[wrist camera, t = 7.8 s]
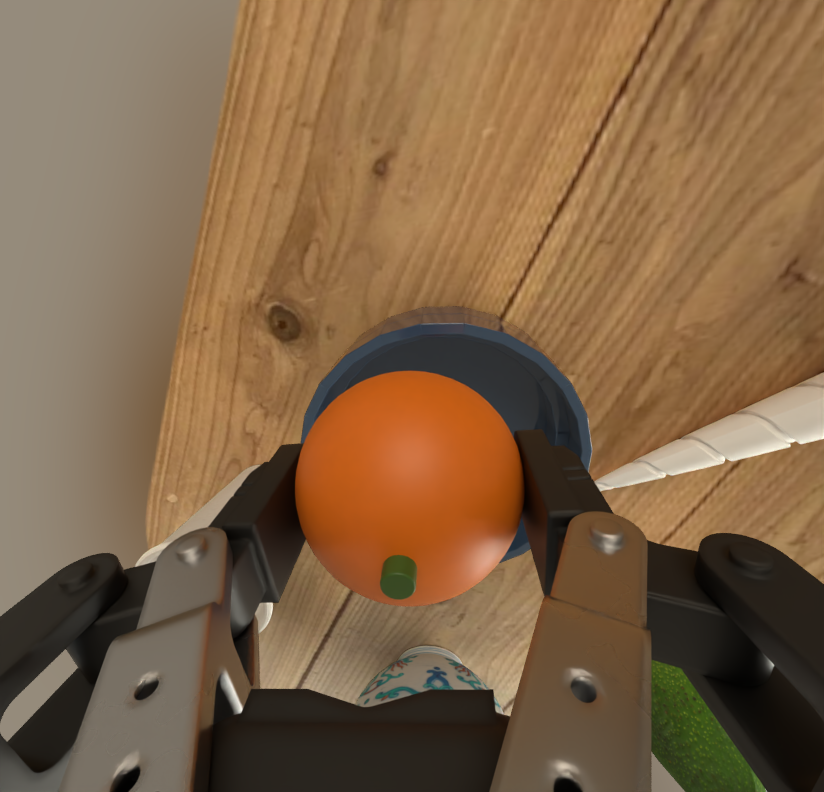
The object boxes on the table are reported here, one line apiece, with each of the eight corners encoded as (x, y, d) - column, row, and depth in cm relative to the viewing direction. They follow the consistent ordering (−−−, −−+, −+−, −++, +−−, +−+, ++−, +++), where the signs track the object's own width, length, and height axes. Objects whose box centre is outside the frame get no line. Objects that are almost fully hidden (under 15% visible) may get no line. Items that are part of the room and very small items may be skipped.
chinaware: (475, 600, 35) (484, 693, 28) (524, 698, 40) (542, 798, 33) (330, 634, 38) (306, 726, 31) (393, 721, 44) (383, 817, 36)
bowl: (346, 275, 25) (321, 287, 20) (604, 340, 25) (645, 368, 20) (311, 489, 32) (287, 539, 27) (515, 537, 32) (529, 595, 27)
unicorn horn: (560, 449, 29) (583, 489, 24) (953, 296, 23) (1075, 312, 19) (582, 497, 30) (606, 543, 26) (955, 364, 24) (1068, 394, 20)
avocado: (712, 635, 35) (836, 821, 24) (650, 680, 38) (736, 865, 27) (640, 600, 34) (736, 779, 23) (583, 650, 37) (643, 829, 26)
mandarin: (346, 322, 12) (256, 411, 6) (531, 371, 12) (617, 502, 6) (317, 479, 14) (232, 651, 8) (473, 517, 15) (497, 712, 9)
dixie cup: (231, 433, 30) (140, 524, 21) (333, 474, 31) (287, 578, 22) (209, 511, 33) (121, 619, 24) (301, 546, 34) (251, 663, 25)
